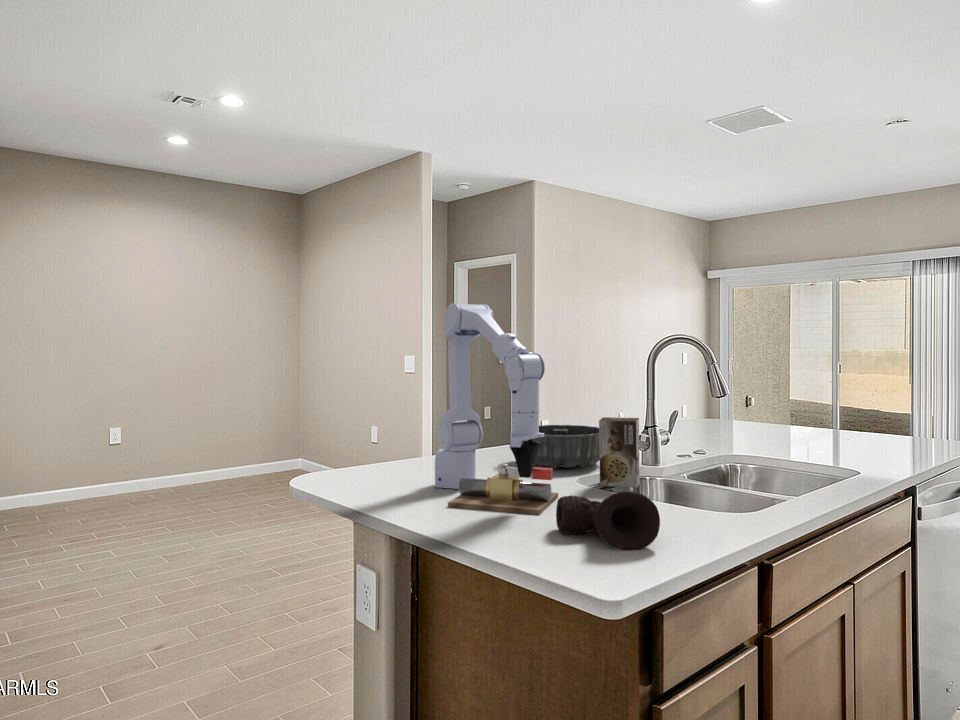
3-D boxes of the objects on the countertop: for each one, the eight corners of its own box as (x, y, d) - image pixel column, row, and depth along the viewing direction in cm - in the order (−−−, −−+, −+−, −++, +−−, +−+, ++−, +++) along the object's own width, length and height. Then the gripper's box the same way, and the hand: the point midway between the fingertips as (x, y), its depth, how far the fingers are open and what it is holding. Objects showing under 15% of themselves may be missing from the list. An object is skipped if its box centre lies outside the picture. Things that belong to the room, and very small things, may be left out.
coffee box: (640, 483, 166) (640, 417, 166) (637, 488, 160) (637, 420, 160) (602, 480, 169) (602, 416, 169) (598, 486, 163) (598, 419, 163)
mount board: (448, 506, 144) (448, 502, 143) (474, 491, 159) (474, 486, 159) (539, 514, 137) (539, 509, 137) (558, 497, 152) (558, 492, 152)
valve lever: (496, 477, 147) (496, 465, 147) (500, 474, 149) (500, 463, 149) (550, 480, 143) (550, 468, 143) (553, 478, 145) (553, 466, 145)
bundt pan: (507, 457, 205) (507, 424, 205) (592, 455, 208) (592, 422, 208) (523, 474, 179) (523, 436, 178) (620, 471, 182) (620, 434, 182)
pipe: (555, 486, 128) (574, 489, 114) (631, 489, 130) (661, 492, 115) (553, 539, 127) (573, 549, 112) (631, 541, 128) (661, 552, 114)
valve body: (457, 498, 149) (457, 476, 149) (465, 493, 153) (465, 471, 153) (546, 505, 142) (546, 482, 142) (552, 500, 147) (552, 477, 146)
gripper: (534, 416, 133) (534, 485, 133) (552, 408, 146) (552, 471, 147) (500, 414, 135) (500, 482, 135) (520, 407, 149) (520, 469, 149)
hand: (525, 476), depth 141 cm, fingers closed
